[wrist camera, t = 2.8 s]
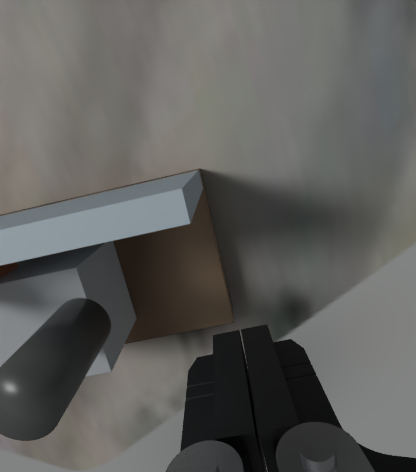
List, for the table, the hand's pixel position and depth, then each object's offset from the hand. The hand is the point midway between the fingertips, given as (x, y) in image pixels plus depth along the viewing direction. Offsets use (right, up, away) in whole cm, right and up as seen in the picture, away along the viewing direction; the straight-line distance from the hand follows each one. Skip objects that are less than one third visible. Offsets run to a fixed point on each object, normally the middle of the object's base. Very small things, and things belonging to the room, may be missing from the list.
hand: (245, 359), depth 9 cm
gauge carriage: (-9, +1, +10) cm, 14 cm away
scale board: (-12, +4, +10) cm, 16 cm away
